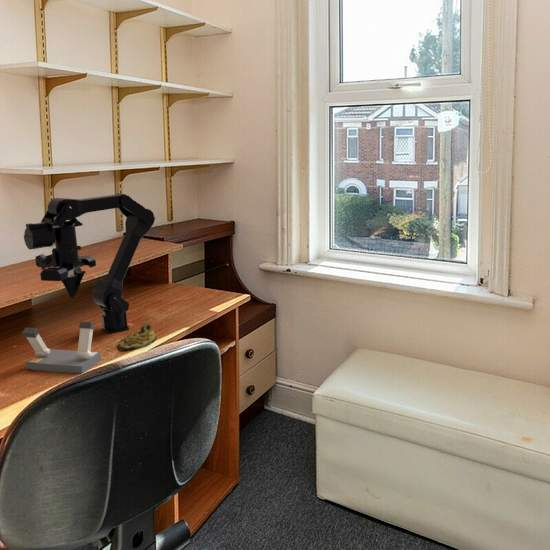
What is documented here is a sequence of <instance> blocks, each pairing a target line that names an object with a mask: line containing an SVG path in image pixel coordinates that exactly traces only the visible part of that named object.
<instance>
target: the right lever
mask: <svg viewBox="0 0 550 550" xmlns="http://www.w3.org/2000/svg"><path fill="white" fill-rule="evenodd" d="M95 323H96V322H93V321H92V322H91V321H90V322H88V321H80V322H79V326H78V327H79V328H78V329H79V334H78V335H79V336H78V344H77V350H76V351H77V352H76V357H77V358H90V357H91V352H92V351H91V350H92V349H91V348H92V340H93V333H94V329H95V325H96V324H95Z"/></svg>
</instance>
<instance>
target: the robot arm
mask: <svg viewBox="0 0 550 550" xmlns="http://www.w3.org/2000/svg"><path fill="white" fill-rule="evenodd" d="M113 209H118V210H119V211H120V213H121V214H122V215H123V216H124V217H125V218H126V219H125V222H124V226H125V227H124V228H125V233H124V236H123V238H122V240H121V243H120V244H119V247H118V250H117V252H116V254H115V256H114V259H113V261H112V264H111V266H110V268H109V270H108V273H107V275H106V276H105V277H104V278H102V279H101V278H97V280H96V282H95V286H94V287H93V289H92V290H91V292H92V299H93V301H94V303H95V304H97V305H98V307H99V309H101V310H102V315H101V326H102V329H104V331H105V332H107V334H112V333H117V332H118V333H119V332H123V331H127V330H130V326H129V325H128V319H127V312H128V310H129V307H130V303H129V302H128V301H126V300H125V299H123V293H124V285H123V282H124V278H125V277H126V275H127V272H128V269H129V267H130V265H131V263H132V261H133V258H134V256H135V254H136V251H137V248H138V246H139V244H140V241H141V239H142V238H144V236H146V235H147V234H148V233H149V231H150V230H151V228H152V227H153V225H154V223H155V221H156V217H155V214H154V212H153V211H152V210H151V209H149V208H145V206H143V205H142V204H140V203H139V202H137V201H136V200H134V199H133V198H132V197H131V196H129V195H128V194H127V193H119V192H118V193H116V194H109V195H103V196H95V197H87V198H78V199H77V198H69V197H68V198H66V197H54V198H52V199H50V201H49V202H48V205H47V210H46V212H45V213H44V215H43V216H42V219H41V221H40V222H37V223H36V222H35V223H26V224H25V229H24V234H23V241H24V244H25V245H26V247H27V250H37V249H43V248H49V247H52V246H53V244H54V245H55V247H54V248H52V250H51V254H48V255H45V254H44V253H42V254H39V255H36V256H35V265H36V267H38V268H41V272H39V277H40V280H41V282H43V281H46V282H61V283H62V284H63V286H64V288H65V289H66V292H67V293H68V295H69V297H70V298H71V299H73V298H76V296H77V294H78V290H79V288H80V285H81V282H82V280H83V278H84V276H85V274H86V270H82V267H83V266H88V267H89V268H93V267H95V266H97V262H96V259H95V257H94V256H91V255H90V256H86V255H85V256H84V255H79V251H80V250H82V247H81V245H78V239H77V232H76V227H80V226H81V227H82V226H83V222H81V221H79V220H78V219H77V218H78V217H81V216H83V215H85V214H88V213H93V212H99V211H106V210H113Z"/></svg>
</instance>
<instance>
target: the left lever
mask: <svg viewBox="0 0 550 550" xmlns="http://www.w3.org/2000/svg"><path fill="white" fill-rule="evenodd" d="M21 334H22V336H23V337H24V338H26V339H27V341H28V342H29V344H30V345H31V348H32V349H33V350H34V354H35V356H36V355H49V354H50V349H51V348H48V347H47V345H46V343H45V342H44V340H43V338H42V337H41V335H40V331H39V330H38V328H37V327H25V328H24V329H23V330H22V332H21Z"/></svg>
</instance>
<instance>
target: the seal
mask: <svg viewBox="0 0 550 550" xmlns="http://www.w3.org/2000/svg"><path fill="white" fill-rule="evenodd" d="M157 336H158V335H157V334H156V332H155V331H154V329H152V325H151V323H150V321H147V322H144V323H143V324H141V327H140V331H136V332H133V333H130V334H129V335H127V336H125V337H124V338H121V339H120V341H119V343H118V348H119V350H120V351H122V352H123V351H124V352H125V351H136V350H140V349H144V348H146V347H149V346H151V345H152V344H153V343H154V342H155V341H156V340H157Z"/></svg>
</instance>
